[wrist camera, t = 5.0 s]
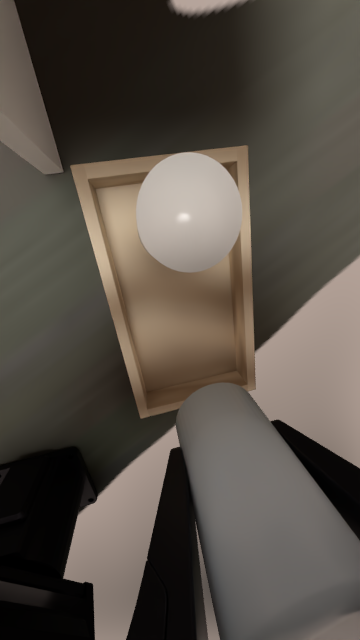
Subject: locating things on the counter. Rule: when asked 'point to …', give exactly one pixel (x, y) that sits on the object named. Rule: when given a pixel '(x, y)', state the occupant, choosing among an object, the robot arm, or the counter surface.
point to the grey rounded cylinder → (265, 526)
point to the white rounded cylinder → (188, 212)
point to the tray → (170, 290)
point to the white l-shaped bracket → (23, 98)
